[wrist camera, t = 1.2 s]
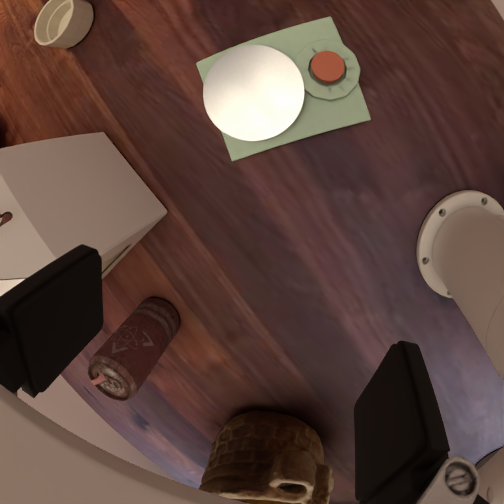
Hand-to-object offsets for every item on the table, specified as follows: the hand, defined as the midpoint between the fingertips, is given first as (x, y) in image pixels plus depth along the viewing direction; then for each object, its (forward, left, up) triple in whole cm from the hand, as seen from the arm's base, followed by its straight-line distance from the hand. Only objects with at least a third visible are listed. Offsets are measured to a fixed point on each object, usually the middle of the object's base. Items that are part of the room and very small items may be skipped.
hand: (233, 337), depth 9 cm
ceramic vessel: (+13, +36, -25) cm, 46 cm away
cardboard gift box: (+27, -4, -25) cm, 37 cm away
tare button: (-7, -10, -22) cm, 25 cm away
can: (+22, +11, -25) cm, 35 cm away
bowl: (+19, -31, -25) cm, 44 cm away
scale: (-2, -10, -25) cm, 27 cm away
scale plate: (0, -10, -21) cm, 24 cm away
